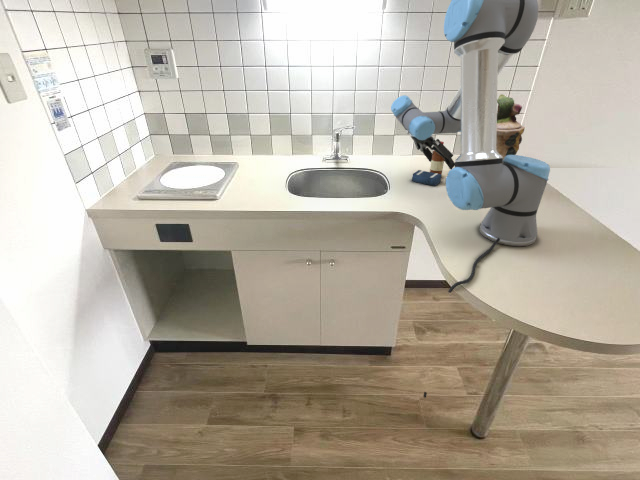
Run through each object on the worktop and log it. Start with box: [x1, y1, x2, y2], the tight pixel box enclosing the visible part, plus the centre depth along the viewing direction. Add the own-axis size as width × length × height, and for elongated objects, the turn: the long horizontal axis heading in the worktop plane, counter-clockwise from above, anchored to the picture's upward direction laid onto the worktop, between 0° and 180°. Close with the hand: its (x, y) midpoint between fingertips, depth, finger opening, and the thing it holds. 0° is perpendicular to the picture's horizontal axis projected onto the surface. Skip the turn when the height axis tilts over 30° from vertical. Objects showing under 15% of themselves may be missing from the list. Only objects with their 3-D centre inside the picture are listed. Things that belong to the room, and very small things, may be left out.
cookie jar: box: [496, 93, 526, 159], centre depth 145 cm, size 25×25×32 cm
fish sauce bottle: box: [429, 140, 445, 175], centre depth 146 cm, size 5×5×15 cm
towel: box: [411, 169, 443, 187], centre depth 144 cm, size 8×10×3 cm
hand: (442, 162), depth 148 cm, fingers open, 11 cm apart
